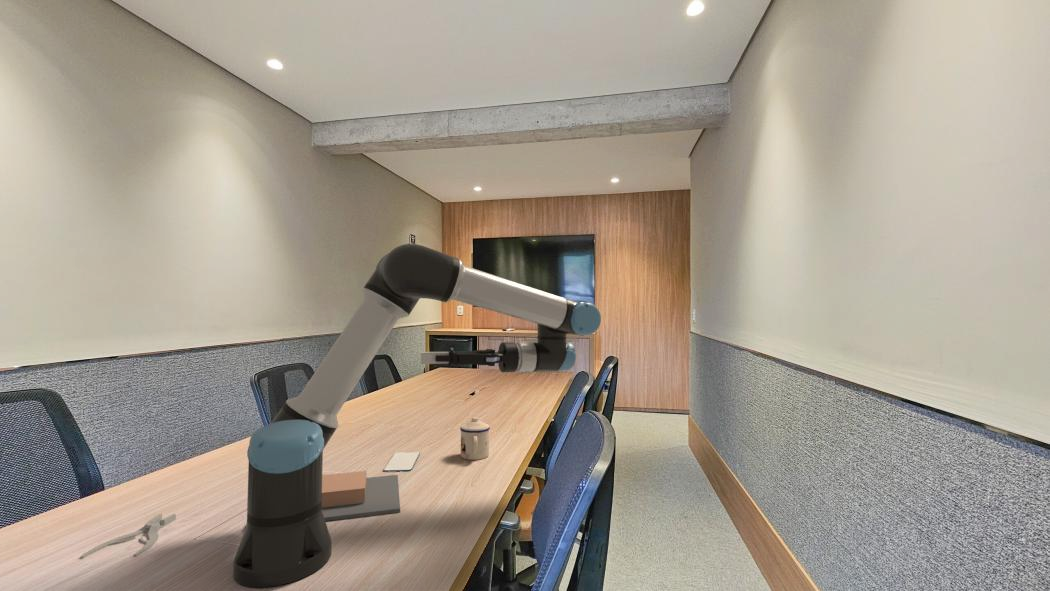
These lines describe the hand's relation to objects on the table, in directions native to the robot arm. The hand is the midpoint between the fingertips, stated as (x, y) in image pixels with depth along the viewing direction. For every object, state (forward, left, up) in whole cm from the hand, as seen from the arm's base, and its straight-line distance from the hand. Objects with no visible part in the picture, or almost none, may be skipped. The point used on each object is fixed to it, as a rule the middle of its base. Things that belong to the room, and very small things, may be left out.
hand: (421, 358), depth 107 cm
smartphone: (+30, +3, -34) cm, 45 cm away
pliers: (-2, +53, -34) cm, 63 cm away
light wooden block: (+6, +12, -30) cm, 33 cm away
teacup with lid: (+28, -18, -33) cm, 47 cm away
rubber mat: (+6, +20, -33) cm, 39 cm away
